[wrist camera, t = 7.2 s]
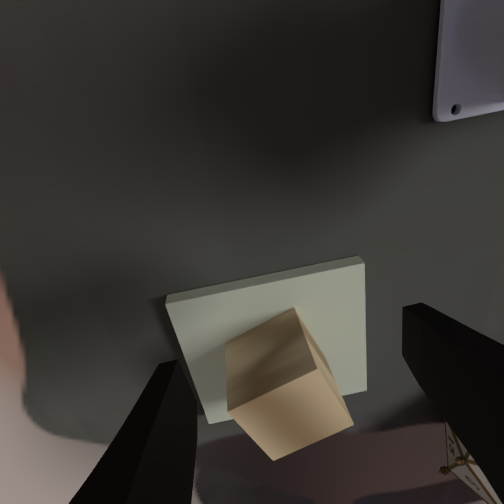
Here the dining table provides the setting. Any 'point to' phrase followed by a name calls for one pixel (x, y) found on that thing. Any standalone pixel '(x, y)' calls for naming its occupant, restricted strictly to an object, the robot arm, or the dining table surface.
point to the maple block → (282, 386)
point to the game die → (466, 468)
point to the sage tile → (265, 308)
